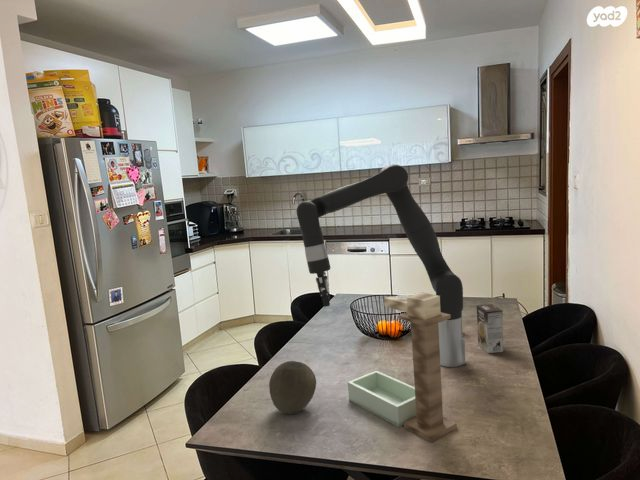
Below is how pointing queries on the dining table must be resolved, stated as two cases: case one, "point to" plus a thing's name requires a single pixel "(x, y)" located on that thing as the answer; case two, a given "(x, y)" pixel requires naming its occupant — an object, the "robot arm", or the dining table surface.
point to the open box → (384, 397)
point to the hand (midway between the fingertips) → (327, 303)
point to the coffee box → (490, 328)
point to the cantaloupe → (292, 386)
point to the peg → (416, 305)
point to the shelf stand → (427, 379)
